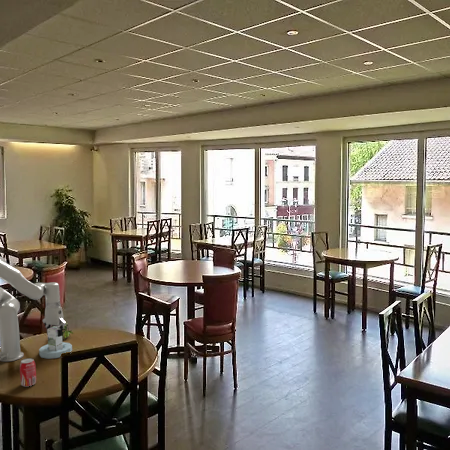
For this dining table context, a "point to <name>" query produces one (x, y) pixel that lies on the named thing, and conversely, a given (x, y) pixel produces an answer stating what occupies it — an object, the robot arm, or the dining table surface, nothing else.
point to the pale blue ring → (48, 354)
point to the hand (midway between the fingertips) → (54, 335)
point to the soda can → (27, 372)
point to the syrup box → (54, 339)
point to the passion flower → (66, 331)
